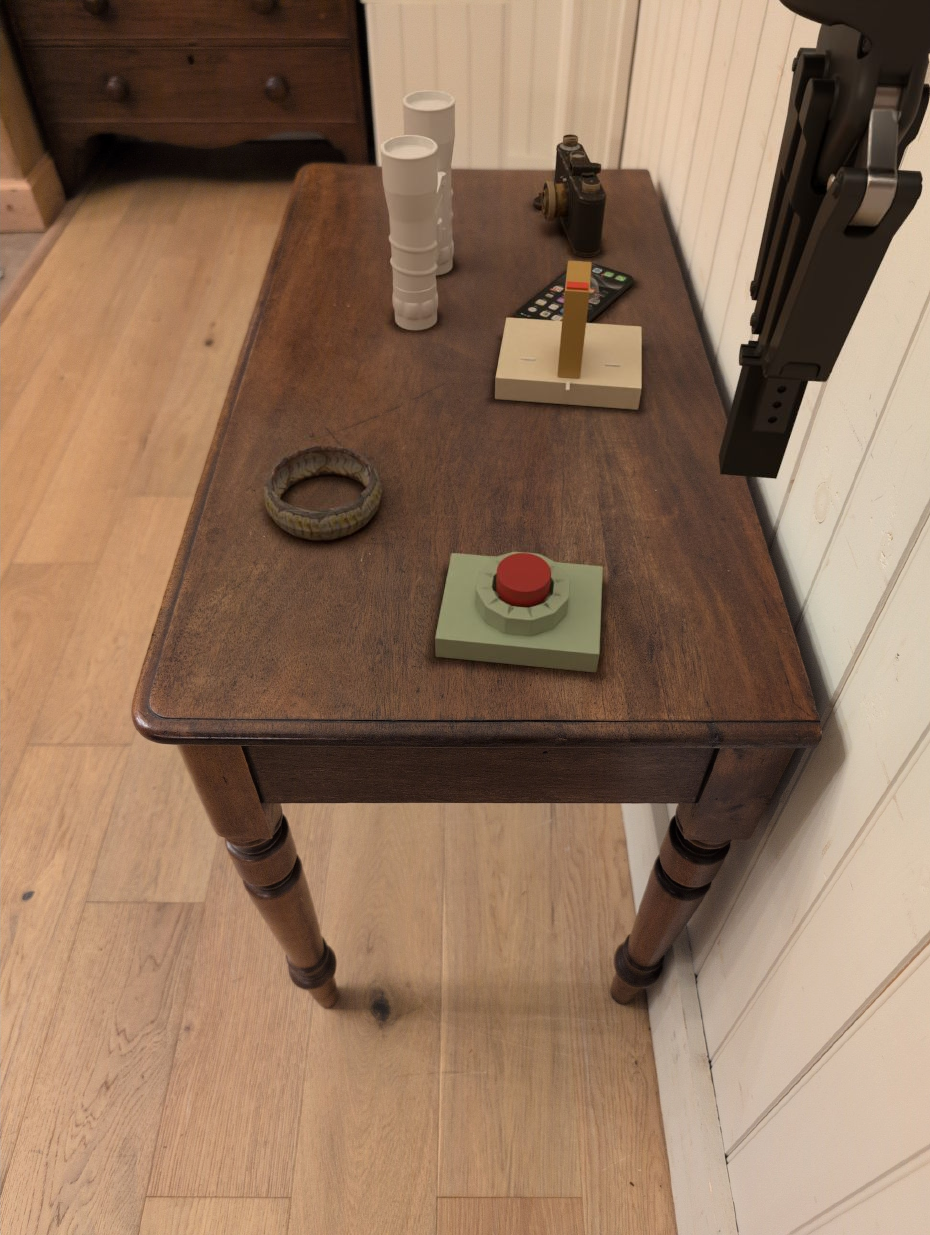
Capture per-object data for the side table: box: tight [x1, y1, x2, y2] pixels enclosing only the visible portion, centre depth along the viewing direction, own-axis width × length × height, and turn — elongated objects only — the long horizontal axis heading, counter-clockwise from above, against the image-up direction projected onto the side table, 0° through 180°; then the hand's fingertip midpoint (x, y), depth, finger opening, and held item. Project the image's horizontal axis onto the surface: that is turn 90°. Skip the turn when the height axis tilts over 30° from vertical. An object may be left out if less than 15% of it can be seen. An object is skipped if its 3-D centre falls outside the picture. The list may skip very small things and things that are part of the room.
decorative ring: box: [263, 444, 383, 541], centre depth 79 cm, size 10×3×10 cm
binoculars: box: [379, 89, 456, 331], centre depth 97 cm, size 17×5×18 cm, turn 172°
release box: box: [434, 551, 604, 673], centre depth 70 cm, size 12×9×4 cm
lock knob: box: [557, 260, 593, 378], centre depth 87 cm, size 6×2×9 cm, turn 173°
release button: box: [496, 552, 551, 607], centre depth 68 cm, size 4×4×2 cm
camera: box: [532, 133, 607, 258], centre depth 112 cm, size 16×7×8 cm, turn 7°
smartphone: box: [514, 260, 634, 323], centre depth 102 cm, size 7×1×15 cm
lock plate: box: [494, 317, 643, 411], centre depth 92 cm, size 14×12×3 cm
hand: (747, 466), depth 45 cm, fingers closed
